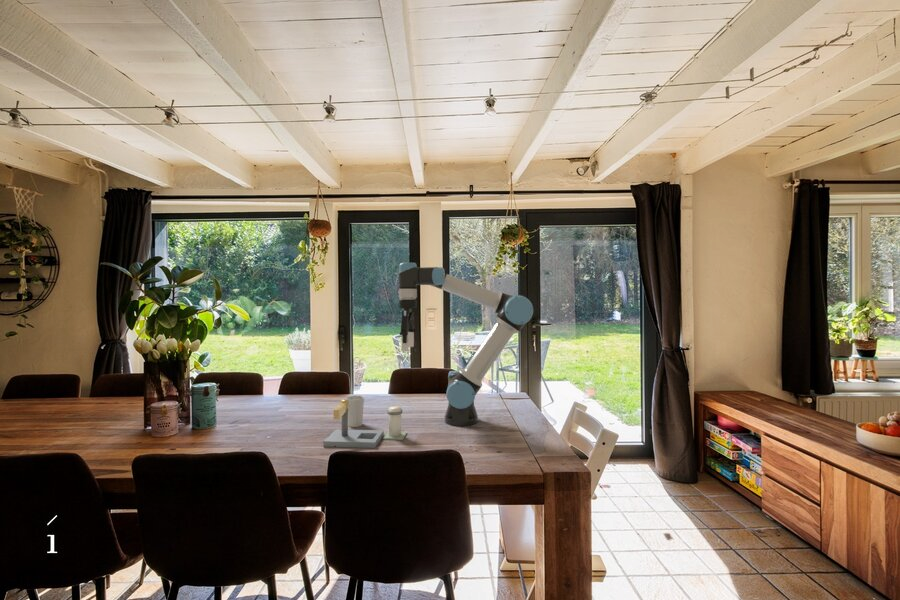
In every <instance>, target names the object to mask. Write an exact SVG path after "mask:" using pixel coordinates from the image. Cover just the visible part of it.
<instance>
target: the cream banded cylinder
mask: <svg viewBox="0 0 900 600" xmlns="http://www.w3.org/2000/svg"><path fill="white" fill-rule="evenodd" d="M387 414H388V431H389V436H390V437H399V436H401V432H402V414H403V409H402V407H401V406H396V405H395V406H389V408H388V409H387Z"/></svg>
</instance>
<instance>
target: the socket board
mask: <svg viewBox="0 0 900 600" xmlns="http://www.w3.org/2000/svg"><path fill="white" fill-rule="evenodd" d="M384 432H385V430H383V429H381V430H380V429H379V430H378V429H349V426H348V411H346V412H345V413H344V414H343V416H342V417H341V429H340V428H339V429H338V428H337V429H335V430H334V431H333V432H331V433H330V434H329V435H328V436H327V437H326V438H324V440H323V441H322V444H323V445H322V446H323V447H325V448H326V447H327V448H328V447H329V448H330V447H331V448H365V449H366V448H368V449H369V448H370V449H371V448H372V449H375V448H376V447H377V446H378V444H379V442H380V441H381V440H382V439H383V438H384V436H385V433H384ZM334 446H336V447H334Z"/></svg>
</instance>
